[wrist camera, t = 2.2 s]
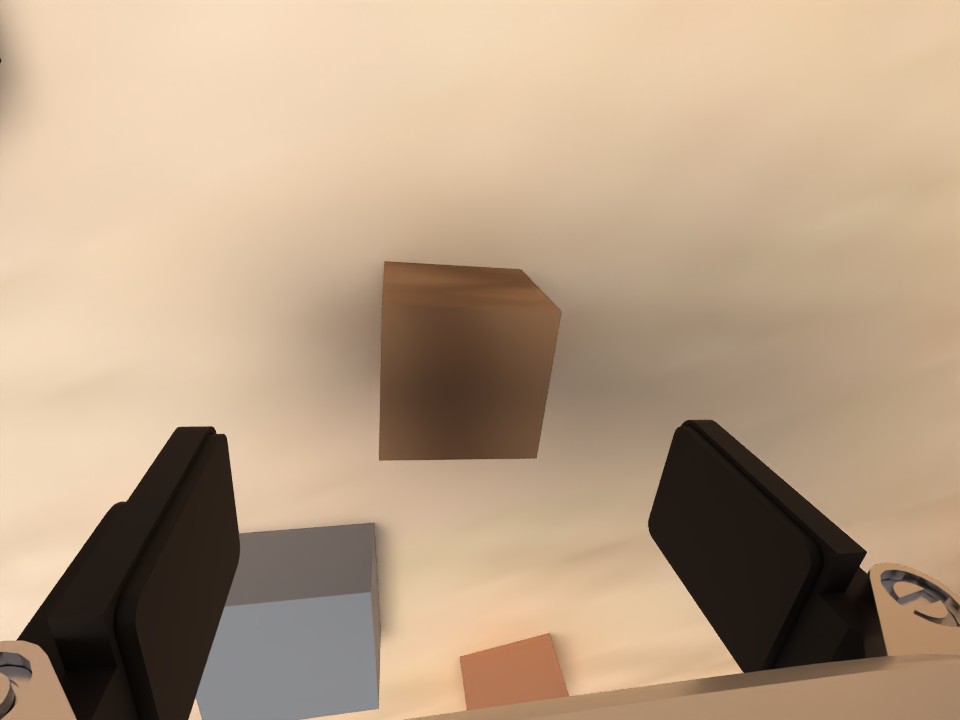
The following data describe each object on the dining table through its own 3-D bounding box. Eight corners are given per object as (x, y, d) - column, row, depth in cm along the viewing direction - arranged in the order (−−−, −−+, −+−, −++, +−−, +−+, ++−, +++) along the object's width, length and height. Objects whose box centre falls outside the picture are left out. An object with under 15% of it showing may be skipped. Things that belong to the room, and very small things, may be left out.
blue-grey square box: (374, 519, 22) (370, 591, 19) (380, 627, 25) (378, 708, 22) (207, 532, 21) (170, 612, 18) (234, 643, 24) (206, 732, 21)
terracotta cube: (548, 631, 27) (579, 729, 23) (557, 687, 29) (587, 786, 25) (459, 655, 27) (473, 759, 22) (475, 709, 29) (490, 815, 25)
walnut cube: (520, 269, 19) (561, 311, 14) (504, 387, 21) (536, 458, 16) (384, 261, 18) (382, 303, 13) (382, 386, 20) (379, 460, 15)
